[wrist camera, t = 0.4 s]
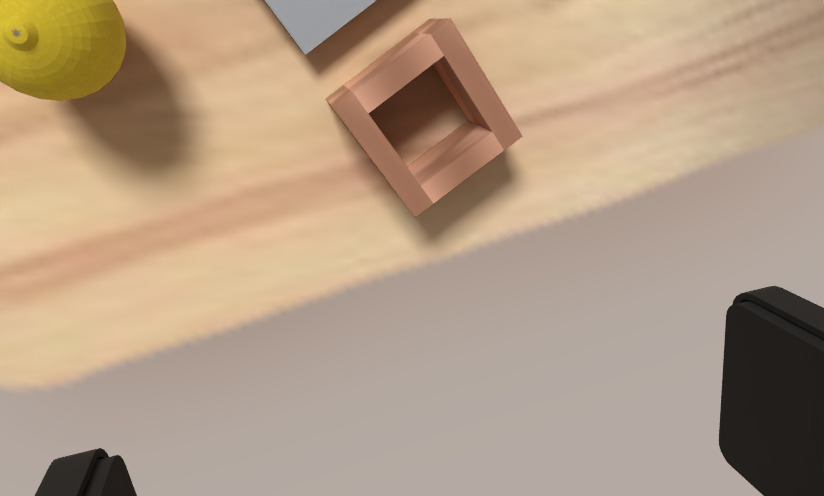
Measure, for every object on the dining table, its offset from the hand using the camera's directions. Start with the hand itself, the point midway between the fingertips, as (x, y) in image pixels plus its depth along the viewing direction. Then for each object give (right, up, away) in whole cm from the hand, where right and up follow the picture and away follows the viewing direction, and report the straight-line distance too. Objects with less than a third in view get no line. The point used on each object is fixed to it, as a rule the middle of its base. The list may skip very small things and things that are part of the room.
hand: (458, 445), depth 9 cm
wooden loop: (-1, +11, +25) cm, 27 cm away
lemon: (-17, +13, +20) cm, 29 cm away
